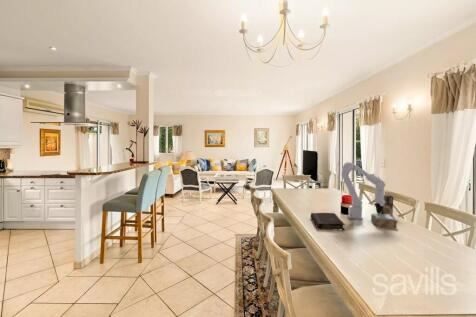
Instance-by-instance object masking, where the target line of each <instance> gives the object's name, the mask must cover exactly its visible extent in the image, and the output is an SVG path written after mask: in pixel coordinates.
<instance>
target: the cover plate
mask: <svg viewBox="0 0 476 317" xmlns="http://www.w3.org/2000/svg"><path fill="white" fill-rule="evenodd" d="M372 214H373V215H374V216H375V217H376V218H377V219H378V220H386V221H394V219H395V218H394V217H393V216H390V215H388V214H378V213H372Z"/></svg>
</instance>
